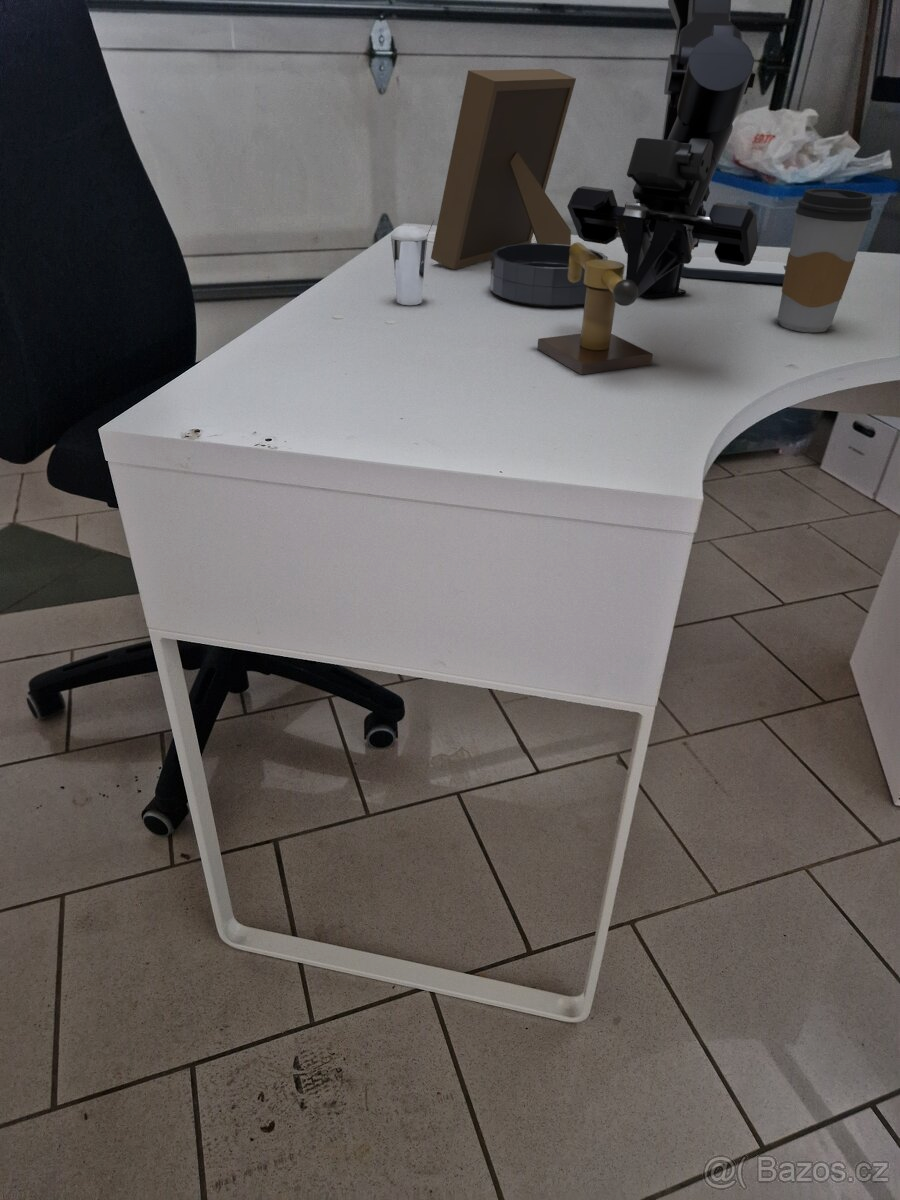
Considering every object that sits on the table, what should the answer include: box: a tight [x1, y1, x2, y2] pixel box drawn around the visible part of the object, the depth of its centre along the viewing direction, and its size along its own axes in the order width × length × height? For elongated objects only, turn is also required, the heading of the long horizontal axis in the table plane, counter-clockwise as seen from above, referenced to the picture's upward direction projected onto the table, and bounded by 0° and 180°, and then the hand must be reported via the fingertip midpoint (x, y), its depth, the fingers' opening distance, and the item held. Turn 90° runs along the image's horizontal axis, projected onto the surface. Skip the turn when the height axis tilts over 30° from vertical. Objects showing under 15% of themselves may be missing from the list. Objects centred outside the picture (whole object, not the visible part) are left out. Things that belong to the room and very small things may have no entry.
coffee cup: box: [777, 188, 874, 333], centre depth 99 cm, size 8×8×15 cm
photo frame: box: [430, 68, 577, 271], centre depth 121 cm, size 15×22×25 cm
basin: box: [489, 242, 609, 308], centre depth 111 cm, size 15×15×5 cm
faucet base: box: [536, 286, 654, 376], centre depth 89 cm, size 9×9×7 cm
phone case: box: [681, 256, 787, 285], centre depth 124 cm, size 9×2×16 cm
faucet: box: [568, 242, 638, 307], centre depth 88 cm, size 21×4×5 cm, turn 7°
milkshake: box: [390, 219, 435, 306], centre depth 104 cm, size 5×5×10 cm
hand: (628, 299), depth 83 cm, fingers closed
